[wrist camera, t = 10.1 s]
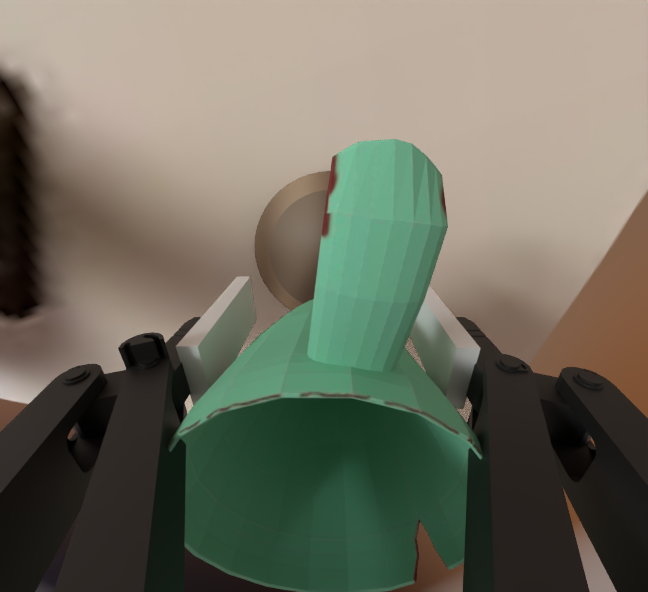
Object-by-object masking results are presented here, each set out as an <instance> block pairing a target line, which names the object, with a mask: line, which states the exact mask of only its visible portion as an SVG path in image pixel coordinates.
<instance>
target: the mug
mask: <svg viewBox="0 0 648 592" xmlns="http://www.w3.org/2000/svg"><path fill="white" fill-rule="evenodd" d="M447 228H448V223H447V215H446V206H445V198H444V190H443V181H442V175H441V173H440V172H439V171H438V169H437V168H436V166H435V165H434V164H433V163H432V162H431V161H430V159H429V158H428V157H427V156H426V155H425V154H424V153H422V152H421V151H420V150H419V149H418V148H416V147H415V146H414V145H413V144H411V143H407V142H404V141H400V140H396V139H391V140H376V141H364V142H357V143H355V144H354V145H352V146H350V147H348V148H346V149H344V150H343V151H341V152H340V153H338V154H336V155H335V156H333V158H332V165H331V171H330V178H329V184H328V191H327V197H326V204H325V210H324V219H323V227H322V235H321V243H320V251H319V260H318V268H317V276H316V284H315V293H314V299H313V300H310V301H308V302H306V303H304V304H302V305H300V306H298V307H296V308H295V309H293V310H292V311H291V312H289V313H288V314H286V315H285V316H283V317H282V318H281V319H279V320H278V321H277V322H276V323H274V324H273V325H272V326H271V327H269V328H268V329H267V330H266V331H264V332H263V333H262V334H260V335H259V336H258V337H257V338H256V339H255V340H254V341H253V342H252V343H251V344H250V346H249V347H248V348H247V349H246V350H245V351H244V352H243V353H242V354H241V355H240V356H239V357H238V358H237V359H236V360H235V361H234V362H233V363H232V364H231V365H230V366H229V368H228V369H227V370H226V371H225V372H224V373H223V374H222V375H221V376H220V377H219V378H218V380H217V381H216V382H215V383H214V384H213V385H212V386H211V387H210V388H209V389H208V390H207V392H206V393H205V394H204V395H203V396H202V397H201V398H200V399H199V400H198V401H197V402H196V403H195V405H194V406H193V407H192V409H191V410H190V411H189V413H188V414H187V415H186V417H185V419H184V420H183V422H182V423H181V425H180V426H179V428H178V429H177V431H176V432H175V434H174V436H173V437H172V439H171V441H170V443H169V445H168V449H169V451H170V452H171V451H172V450H173V448H174V447H175V445H176V444H177V442H178V441H179V439H182V440H183V441H184V443H185V444H186V485H185V545H184V546H185V547H186V548H187V549H188V550H189V551H190V552H191V553H192V554H193V555H195V556H197V557H198V558H200V559H202V560H204V561H205V562H207V563H209V564H211V565H213V566H215V567H217V568H218V569H220V570H222V571H224V572H226V573H228V574H230V575H233V576H237V577H239V578H242V579H245V580H248V581H252V582H255V583H257V584H261V585H264V586H267V587H273V588H278V589H284V590H290V591H296V592H381V591H391V590H394V589H397V588H401V587H404V586H407V585H411V584H414V583H415V582H416V579H417V566H418V559H419V552H418V545H417V534H418V528H419V523H420V522H421V523H422V525H423V526H424V528H425V530H426V531H427V533H428V535H429V537H430V539H431V542H432V544H433V546H434V548H435V550H436V551H437V553H438V554H439V556H440V557H441V559H442V561H443V562H444V564H445V565H446V567H447V568H448V569H449V570H451V569H453V568H455V567H457V566H459V565H461V564H463V563H464V550H465V524H466V498H467V473H468V449H469V448H470V447H471V448H472V450H473V451H474V452H475V453H476V455H477V456H478V457H479V458H480V460H481V458H482V455H483V453H482V449H481V446H480V443H479V440H478V438H477V436H476V434H475V433H474V432H473V430H472V429H471V428H470V426H469V425H468V424H467V423H466V421H465V420H464V419H463V417H462V416H461V415H460V414H459V412H458V411H457V410H456V408H455V407H454V406H453V405H452V403H451V402H450V401H449V400H448V398H447V397H446V396H445V395H444V394H443V393H442V391H441V390H440V389H439V388H438V387H437V385H436V384H435V383H434V382H433V381H432V380H431V378H430V377H429V376H428V375H427V374H426V373H425V371H424V370H423V369H422V368H421V367H420V366H419V364H418V363H417V362H416V361H415V360H414V358H413V357H412V356H411V355H410V353H409V352H408V351H407V350H406V348H405V344H406V342H407V339H408V337H409V335H410V332H411V330H412V328H413V325H414V323H415V321H416V318H417V316H418V314H419V311H420V309H421V306H422V304H423V302H424V299H425V297H426V293H427V290H428V287H429V284H430V281H431V278H432V275H433V271H434V268H435V265H436V262H437V259H438V256H439V253H440V250H441V246H442V243H443V240H444V237H445V234H446V231H447Z"/></svg>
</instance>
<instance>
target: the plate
mask: <svg viewBox="0 0 648 592" xmlns="http://www.w3.org/2000/svg"><path fill="white" fill-rule="evenodd" d="M329 178H330V171H326V172H318V173H314V174H309V175H307V176H304V177H301V178H299V179H297V180H295V181H293V182H292V183H290V184H288V185H287V186H286V187H284V188H283V189H282V190H280V191H279V192H278V193H277V194H276V195H275V196H274V197H273V198H272V200H271V201H270V202H269V204H268V205H267V207H266V208H265V210H264V212H263V214H262V216H261V218H260V221H259V224H258V226H257V231H256V236H255V257H256V262H257V266H258V269H259V272H260V275H261V277H262V279H263V281H264V283H265V284H266V286H267V288H268V289H269V290H270V292H271V293H272V294H273V295H274V296H275V298H277V299H278V300H279V301H280V302H281V303H282V304H283V305H285V306H286V307H287V308H289V309H290V310H293V309H295V308H296V307H298V306H300V305H302V304H304V303H306V302H308V301H310V300H313V299H314V293H315V284H316V276H317V268H318V260H319V251H320V243H321V235H322V227H323V219H324V210H325V204H326V197H327V191H328V184H329Z"/></svg>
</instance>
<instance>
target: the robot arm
mask: <svg viewBox="0 0 648 592" xmlns="http://www.w3.org/2000/svg"><path fill="white" fill-rule="evenodd" d="M255 320H256V312H255V305H254V298H253V291H252V283H251V276H237V277H236V278H235V279H234V280H233V282H232V283H231V284H230V285H229V286H228V287H227V288H226V290H225V291H224V292H223V293H222V294H221V295H220V296H219V298H218V299H217V300H216V301H215V302H214V303H213V304H212V306H211V307H210V308H209V309H208V310H207V311H206V312H205V314H204V315H203V316H202V317H194V318H193V319H191V320H189V321H187V322H186V323H184V324H183V326H182V327H181V328H180V329H179V331H177V332H176V333H175V334H174V336H172V337H171V338H170V339H169V340H168V341H167V342H166V343H165V341H164V338H163V335H161V334H159V333H144V334H141V335H137V336H135V337H132V338H130V339H128V340H126V341H125V342H124V343H122V344H121V345H120V347H119V348H118V349H119V352H120V354H121V356H122V359H123V361H124V364H125V366H126V370H124V371H119V372H114V373H109V374H104V373H103V371H102V368H101V366H99V365H97V364H87V365H82V366H77V367H75V368H72V369H69V370H68V371H66V372H64V373H62V374H61V375H59V376H58V377H57V378H55V379H54V380H53V381H52V382H51V383H50V384H49V385H48V386H47V387H46V388H45V389H44V390H43V391H42V392H41V393H40V394H39V395H38V396H37V397H36V398H35V399H34V400H33V401H32V402H31V403H29V404H28V405H27V407H25V408H24V409H23V410H22V411H21V412H20V413H19V414H18V416H16V417H15V418H14V419H13V420H12V421H11V422H10V423H9V424H8V425H7V426H6V427H5V428H4V429H3V430H2V431H1V432H0V592H35V591H36V589H37V588H38V585H39V584H40V582H41V580H42V578H43V577H44V575H45V573H46V571H47V569H48V568H49V566H50V564H51V562H52V560H53V559H54V557H55V555H56V553H57V551H58V549H59V548H60V546H61V544H62V542H63V541H64V539H65V537H66V535H67V533H68V532H69V530H70V528H71V526H72V524H73V523H74V520H75V519H76V517H77V515H78V514H79V516H78V519H77V522H76V526H75V528H74V532H73V535H72V538H71V541H70V544H69V547H68V550H67V553H66V557H65V559H64V563H63V566H62V569H61V572H60V575H59V578H58V581H57V584H56V587H55V590H54V592H184V545H185V485H186V444H185V443H184V441H183V440H182V439H179V441H178V442H177V444H176V445H175V447H174V448H173V450H172V451H171V452H170V451H169V449H168V445H169V443H170V441H171V439H172V437H173V436H174V434H175V432H176V431H177V429H178V428H179V426H180V425H181V423H182V422H183V420H184V419H185V417H186V415H187V410H186V407H185V404H184V402H185V401H186V399H187V398H188V396H189V394H190V395H191V399H192V402H193V405H195V403H196V402H197V401H198V400H199V399H200V398H201V397H202V396H203V395H204V394H205V393H206V392H207V390H208V389H209V388H210V387H211V386H212V385H213V384H214V383H215V382H216V381H217V380H218V378H219V377H220V376H221V375H222V374H223V373H224V372H225V371H226V370H227V369H228V368H229V366H230V365H231V364H232V363H233V362H234V361H235V360H236V358H237V356H238V354H239V352H240V350H241V348H242V346H243V344H244V342H245V340H246V338H247V336H248V334H249V332H250V330H251V328H252V326H253V324H254V322H255ZM410 338H411V340H412V342H413V344H414V346H415V349H416V351H417V353H418V355H419V357H420V360H421V362H422V364H423V366H424V368H425V370H426V373H427V375H428V376H429V377H430V378H431V380H432V381H433V382H434V383H435V384H436V385H437V387H438V388H439V389H440V390H441V391H442V393H443V394H444V395H445V396H446V397H447V398H448V400H449V401H450V402H451V403H452V405H453V406H454V407H455V408H459V409H463V408H464V405H465V401H466V398H467V397H468V399H469V401H470V403H471V404H472V409H471V412H470V416H469V419H468V422H467V424H468V425H469V426H470V428H471V429H472V430H473V432H474V433H475V434H476V436H477V438H478V440H479V443H480V446H481V449H482V453H483V455H482V458H481V460H480V458H479V457H478V456H477V455H476V453H475V452H474V451H473V450H472V448H471V447H470V448H469V449H468V473H467V498H466V524H465V550H464V576H463V592H589V588H588V584H587V580H586V577H585V573H584V569H583V565H582V561H581V557H580V553H579V549H578V545H577V541H576V538H575V534H574V530H573V526H572V522H571V518H570V514H569V510H568V507H567V503H566V499H565V496H564V491H563V488H564V490H565V492H566V494H567V496H568V498H569V500H570V502H571V504H572V506H573V508H574V510H575V512H576V514H577V515H578V517H579V519H580V521H581V523H582V525H583V527H584V529H585V531H586V533H587V535H588V537H589V538H590V541H591V542H592V544H593V546H594V548H595V550H596V552H597V554H598V556H599V558H600V560H601V562H602V564H603V566H604V567H605V569H606V571H607V573H608V575H609V577H610V579H611V581H612V583H613V585H614V587H615V589H616V591H617V592H648V418H647V417H646V416H645V415H643V413H641V411H639V409H637V407H636V406H635V405H634V404H633V403H632V402H631V401H630V400H629V399H628V398H627V397H626V396H625V395H624V394H623V393H622V392H621V391H620V390H619V389H617V387H616V386H615V385H613V384H612V383H611V382H610V381H608V380H607V379H606V378H604V377H602V376H600V375H598V374H597V373H595V372H592V371H590V370H586V369H581V368H577V367H567V368H564V369H562V371H561V373H560V376H559V377H558V378H557V377H552V376H547V375H542V374H537V373H533V371H532V370H531V368H530V366H528V365H527V364H526V363H525V362H523V361H522V360H520V359H518V358H516V357H513V356H510V355H506V354H502V353H501V352H500V351H499V350H498V349H497V348H496V346H495V345H494V344H493V343H492V342H491V341H490V340H489V339H488V338H487V337H486V335H485V334H484V333H483V332H482V331H481V330H480V329H479V328H478V327H477V326H476V324H475V323H473V322H472V321H470V320H468V319H466V318H465V317H455V316H454V315H453V314H452V313H451V311H450V310H449V309H448V308H447V307H446V305H445V304H444V303H443V302H442V300H441V299H440V298H439V297H438V296H437V294H436V293H435V292H434V291H433V289H432V288H431V287H430V286H429V287H428V290H427V293H426V297H425V299H424V302H423V304H422V306H421V309H420V311H419V314H418V316H417V318H416V321H415V323H414V325H413V328H412V330H411V332H410ZM72 428H73V429H74V430H75V434H74V435H73V436H72V438H71V439H68V438H67V437H68V434H69V433H70V431H71V429H72ZM591 437H592V439H593V440H594V443H595V446H596V447H595V446H594V445H593V443H592V442H591V441H590V439H591ZM562 486H563V487H562ZM79 512H80V513H79Z"/></svg>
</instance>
